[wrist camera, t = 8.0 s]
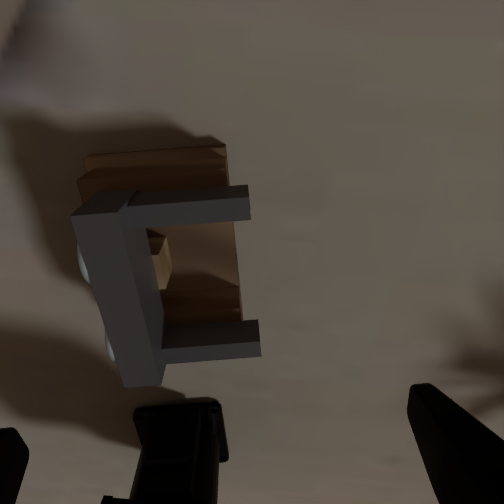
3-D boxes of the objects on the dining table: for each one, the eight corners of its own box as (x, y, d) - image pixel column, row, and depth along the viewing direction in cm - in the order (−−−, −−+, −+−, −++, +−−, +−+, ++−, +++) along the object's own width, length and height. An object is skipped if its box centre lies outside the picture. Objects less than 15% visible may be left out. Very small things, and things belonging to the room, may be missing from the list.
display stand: (243, 317, 23) (244, 349, 21) (133, 326, 23) (119, 359, 21) (225, 144, 18) (223, 156, 16) (85, 155, 18) (60, 169, 16)
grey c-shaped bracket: (259, 336, 20) (262, 376, 18) (134, 346, 20) (119, 388, 18) (247, 180, 16) (249, 201, 13) (91, 192, 16) (62, 216, 13)
